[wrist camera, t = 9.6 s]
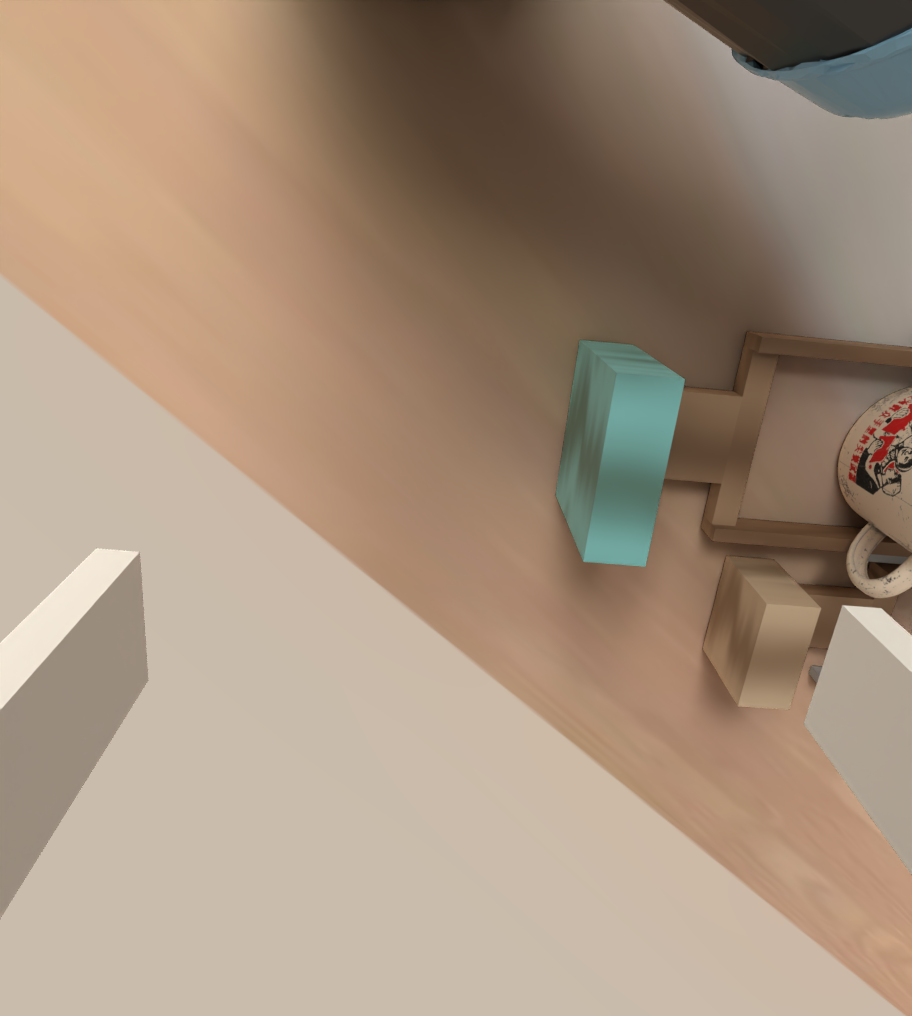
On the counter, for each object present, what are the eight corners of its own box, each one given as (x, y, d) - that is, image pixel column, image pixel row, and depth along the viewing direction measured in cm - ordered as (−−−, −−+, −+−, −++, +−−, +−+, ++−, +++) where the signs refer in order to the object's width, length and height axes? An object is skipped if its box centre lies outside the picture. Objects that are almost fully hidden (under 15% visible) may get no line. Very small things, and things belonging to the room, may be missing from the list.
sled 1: (583, 315, 40) (622, 342, 31) (1045, 360, 41) (1200, 397, 33) (552, 515, 44) (578, 586, 36) (972, 549, 45) (1092, 625, 37)
